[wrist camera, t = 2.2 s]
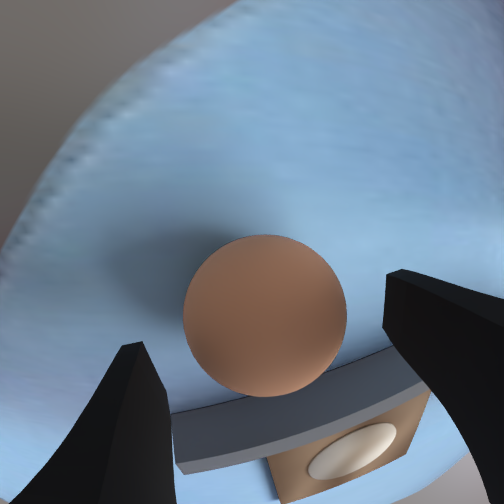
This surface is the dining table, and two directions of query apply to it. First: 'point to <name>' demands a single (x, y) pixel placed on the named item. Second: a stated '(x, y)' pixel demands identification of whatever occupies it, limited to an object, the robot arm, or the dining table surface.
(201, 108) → the dining table surface
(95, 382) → the dining table surface
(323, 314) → the ball
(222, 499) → the dining table surface
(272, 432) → the low wall
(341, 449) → the walnut pad
